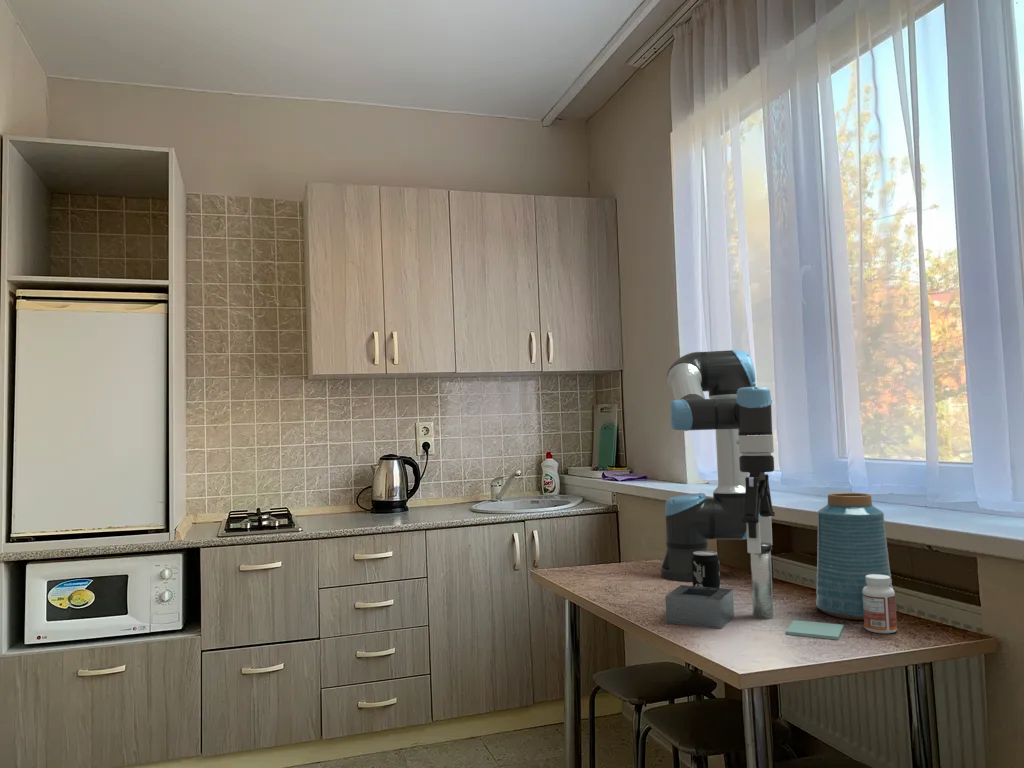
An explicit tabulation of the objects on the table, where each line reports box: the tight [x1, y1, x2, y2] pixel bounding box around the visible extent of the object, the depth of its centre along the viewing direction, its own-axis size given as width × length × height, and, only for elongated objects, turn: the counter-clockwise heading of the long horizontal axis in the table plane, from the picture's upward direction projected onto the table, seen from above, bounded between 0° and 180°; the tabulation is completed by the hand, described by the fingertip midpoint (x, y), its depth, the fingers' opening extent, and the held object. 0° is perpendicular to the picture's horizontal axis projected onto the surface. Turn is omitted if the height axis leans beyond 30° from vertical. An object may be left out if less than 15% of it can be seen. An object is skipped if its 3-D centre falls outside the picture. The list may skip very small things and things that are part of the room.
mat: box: [785, 619, 844, 641], centre depth 158 cm, size 10×10×1 cm
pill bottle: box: [862, 574, 898, 635], centre depth 158 cm, size 6×6×11 cm
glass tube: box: [749, 542, 774, 620], centre depth 172 cm, size 5×5×16 cm
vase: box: [815, 492, 894, 621], centre depth 174 cm, size 16×16×27 cm
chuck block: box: [665, 584, 735, 630], centre depth 170 cm, size 12×12×6 cm
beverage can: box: [692, 550, 721, 588], centre depth 187 cm, size 7×7×12 cm
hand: (760, 548), depth 172 cm, fingers open, 13 cm apart
